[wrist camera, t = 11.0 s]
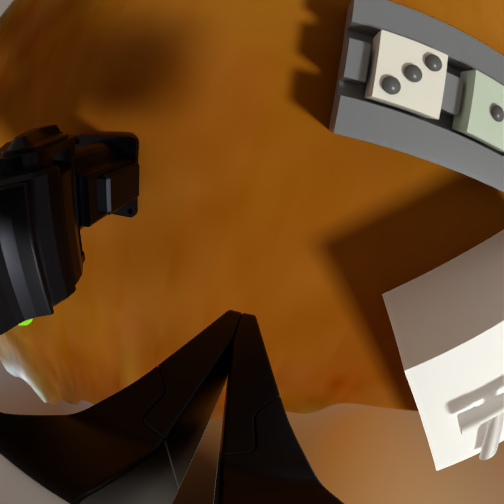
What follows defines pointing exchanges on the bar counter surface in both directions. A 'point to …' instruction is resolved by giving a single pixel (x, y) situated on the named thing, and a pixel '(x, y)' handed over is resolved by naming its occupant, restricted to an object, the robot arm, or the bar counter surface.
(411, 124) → the keypad
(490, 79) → the key sage
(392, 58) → the key cream
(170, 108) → the bar counter surface
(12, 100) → the bar counter surface
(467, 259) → the tissue box
